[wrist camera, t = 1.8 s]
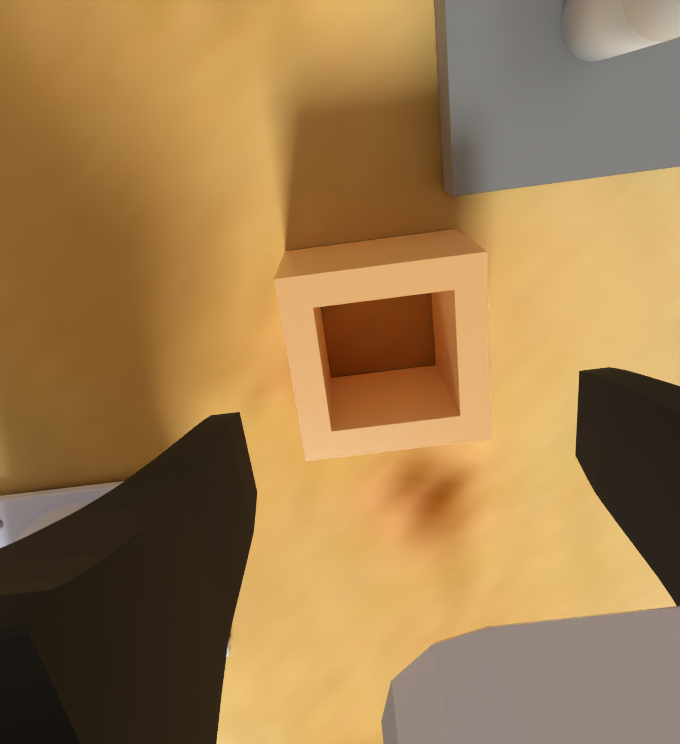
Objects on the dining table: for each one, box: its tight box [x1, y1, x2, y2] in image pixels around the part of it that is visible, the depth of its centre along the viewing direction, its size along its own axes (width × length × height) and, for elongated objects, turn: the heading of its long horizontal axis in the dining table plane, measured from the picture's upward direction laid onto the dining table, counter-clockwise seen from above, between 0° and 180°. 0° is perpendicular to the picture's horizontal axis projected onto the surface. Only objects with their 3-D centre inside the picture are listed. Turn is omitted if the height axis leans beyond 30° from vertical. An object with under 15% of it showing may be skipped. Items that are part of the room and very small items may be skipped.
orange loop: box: [274, 229, 492, 461], centre depth 17 cm, size 6×6×4 cm
